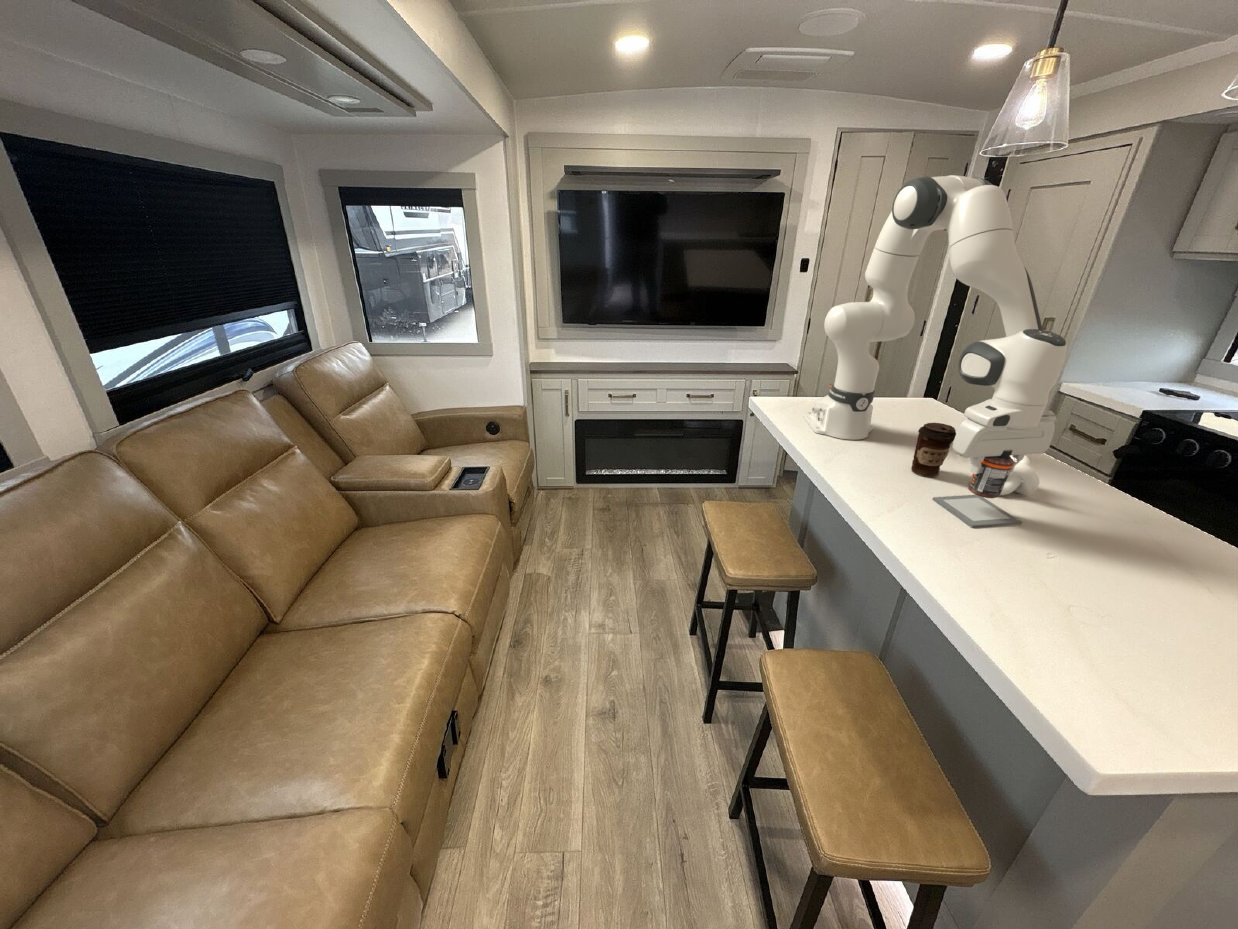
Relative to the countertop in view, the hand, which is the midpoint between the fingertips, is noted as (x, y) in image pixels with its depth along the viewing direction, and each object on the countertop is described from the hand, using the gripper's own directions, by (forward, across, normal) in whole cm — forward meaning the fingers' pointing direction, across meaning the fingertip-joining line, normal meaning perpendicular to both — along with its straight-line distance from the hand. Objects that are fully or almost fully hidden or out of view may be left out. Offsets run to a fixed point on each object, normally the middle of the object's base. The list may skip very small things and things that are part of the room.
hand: (990, 472), depth 106 cm
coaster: (+10, 0, 0) cm, 10 cm away
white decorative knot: (+10, -15, -9) cm, 20 cm away
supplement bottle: (+5, 0, 0) cm, 5 cm away
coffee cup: (+10, -2, -19) cm, 22 cm away
